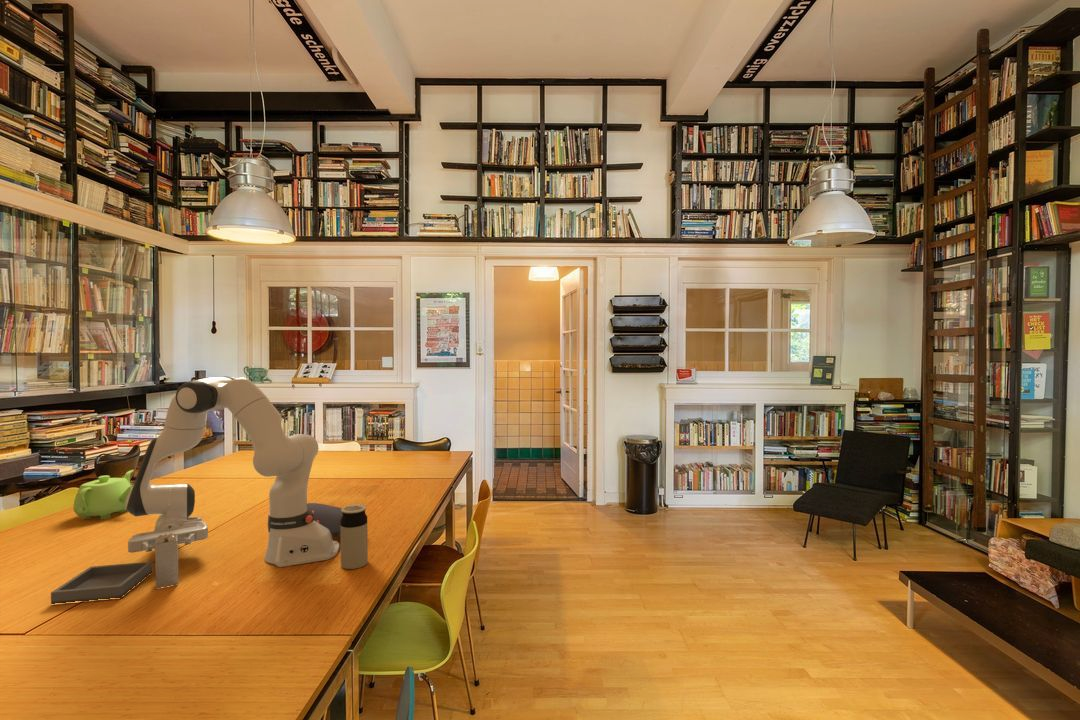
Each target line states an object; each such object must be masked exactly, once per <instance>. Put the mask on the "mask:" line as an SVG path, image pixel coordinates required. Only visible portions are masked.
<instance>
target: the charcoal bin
mask: <svg viewBox="0 0 1080 720" xmlns="http://www.w3.org/2000/svg"><path fill="white" fill-rule="evenodd" d="M153 569H154V568H153V561H143V562H132V563H131V562H130V563H129V562H128V563H120V564H119V563H118V564H109V565H95V566H94V565H93V566H92V565H91V566H89V567H88V568H86V569H84V570H83V571H82V572H80V573H79V574H77V575H76V576H74V577H72V578H71V579H69V580H68V581H67V582H65V583H63V584H61V585H60V586H59V587H57V588H56V589H55V590H53V591H51V592H50V605H51V604H55V603H66V602H75V601H89V600H98V599H110V598H121V597H122V596H123V595H125V594H126V593H127V592H128V591H129V590H131V589H132V588H133V587H134V586H136V585H137V584H138V583H139V582H141V581H142V580H143V579H144V578H145V577H147V576H148V575H149V574H151V573H152V572H153ZM153 573H154V572H153ZM153 573H152V574H153ZM152 574H151V575H152ZM149 576H150V575H149ZM149 576H148V577H149ZM148 577H147V578H148ZM143 581H144V580H143ZM143 581H142V582H143ZM142 582H141V583H142ZM137 586H138V585H137ZM137 586H136V587H137ZM131 591H132V590H131ZM125 596H126V595H125Z"/></svg>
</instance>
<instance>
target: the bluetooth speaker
mask: <svg viewBox="0 0 1080 720" xmlns="http://www.w3.org/2000/svg"><path fill="white" fill-rule="evenodd" d="M342 508H343V507H339V506H334V505H329V504H324V503H317V502H307V509H308V510H310V511H311V512H312V511H313V510H314V521H316V522H317V523H319V524H321V525H322V526H324V527H326V528H328V529H329V530H330V532H331V535H332V537H338V536H341V526H340V520H341V518H342V516H343V514H342V511H341V509H342Z"/></svg>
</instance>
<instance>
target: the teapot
mask: <svg viewBox="0 0 1080 720" xmlns="http://www.w3.org/2000/svg"><path fill="white" fill-rule="evenodd" d="M134 472H135V471H134V469H130V470H128V471H127V472H126V473H124V476H123V477H111V476H110V475H100V476H98V477H97V479H94V480H91V481H88V482H85V483H83V484H81V485H80V486H79V488H78V490H77V493H76V495H75V498H74V502H73V512H74V513H75V515H76V516H80V517H81V518H80V519H81V520H88V519H91V518H92V517H100V520H107V519H110V518H111V517H112V516H111V514H114V513H117V514H121V513H127V512H128V511H127V510H126V499H127V496H128V494H129V492H130V490H131V489H132V487H133V485H134V484H131V476H132V473H134Z"/></svg>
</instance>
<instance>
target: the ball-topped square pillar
mask: <svg viewBox="0 0 1080 720" xmlns="http://www.w3.org/2000/svg"><path fill="white" fill-rule="evenodd" d="M178 545H179V544H178V535H176V534H175V533H170V534H168V533H166V534H164V535H160V536H158V537H157V539H156V543H155V549H154V550H155V590H156V589H157V588H161V587H167V586H171V585H176V584H178V585H179V546H178ZM176 586H177V585H176ZM167 588H168V587H167Z"/></svg>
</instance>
